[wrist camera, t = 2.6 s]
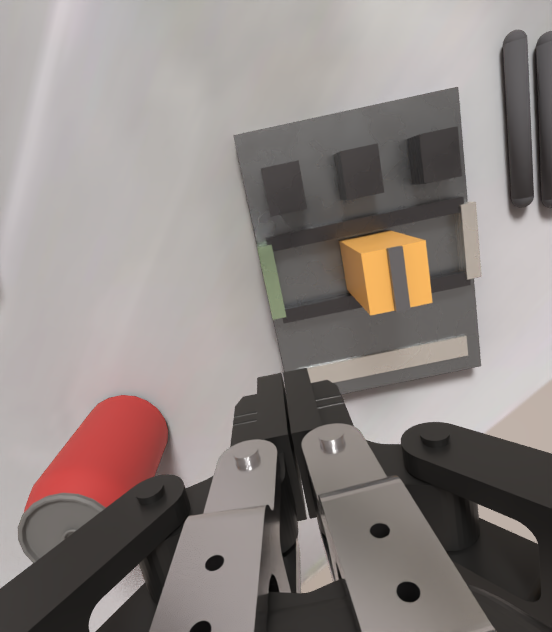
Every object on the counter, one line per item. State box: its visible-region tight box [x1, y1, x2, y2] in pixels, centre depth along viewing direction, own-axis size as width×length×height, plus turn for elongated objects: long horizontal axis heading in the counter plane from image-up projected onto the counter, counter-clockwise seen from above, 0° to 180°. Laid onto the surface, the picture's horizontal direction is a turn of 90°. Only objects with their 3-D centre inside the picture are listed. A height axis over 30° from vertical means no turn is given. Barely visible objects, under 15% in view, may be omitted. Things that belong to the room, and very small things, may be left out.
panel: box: [233, 87, 481, 394], centre depth 31 cm, size 15×20×4 cm
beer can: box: [18, 395, 168, 563], centre depth 30 cm, size 7×7×12 cm
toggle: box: [339, 230, 433, 316], centre depth 28 cm, size 4×4×7 cm
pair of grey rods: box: [503, 30, 552, 208], centre depth 30 cm, size 4×12×1 cm, turn 12°
